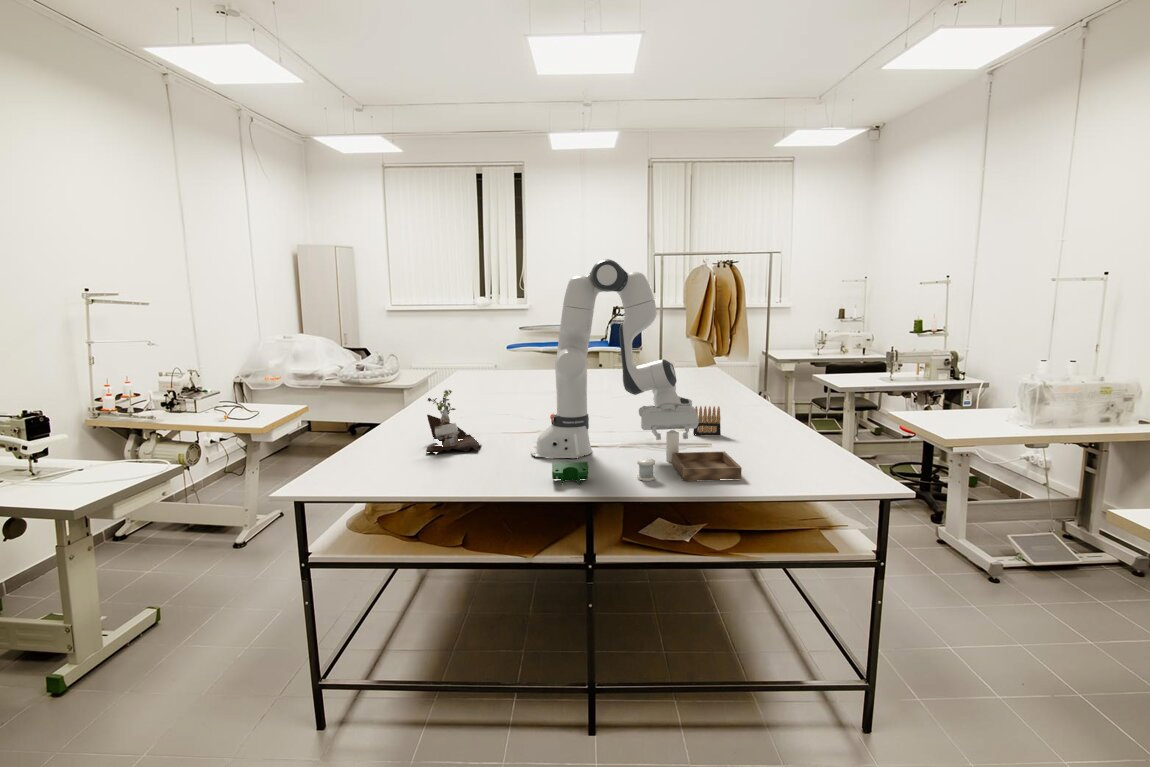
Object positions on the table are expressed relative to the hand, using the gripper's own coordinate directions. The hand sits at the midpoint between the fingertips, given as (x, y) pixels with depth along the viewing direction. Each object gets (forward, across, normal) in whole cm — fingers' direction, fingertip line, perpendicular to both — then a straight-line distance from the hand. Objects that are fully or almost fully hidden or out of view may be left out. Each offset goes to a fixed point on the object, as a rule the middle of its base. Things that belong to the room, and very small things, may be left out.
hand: (672, 438), depth 204 cm
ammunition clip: (-17, +21, +28) cm, 39 cm away
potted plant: (-12, -80, +22) cm, 83 cm away
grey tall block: (+6, 0, +4) cm, 8 cm away
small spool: (+19, -12, -9) cm, 24 cm away
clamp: (+20, -36, -10) cm, 43 cm away
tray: (+16, +8, -5) cm, 18 cm away
